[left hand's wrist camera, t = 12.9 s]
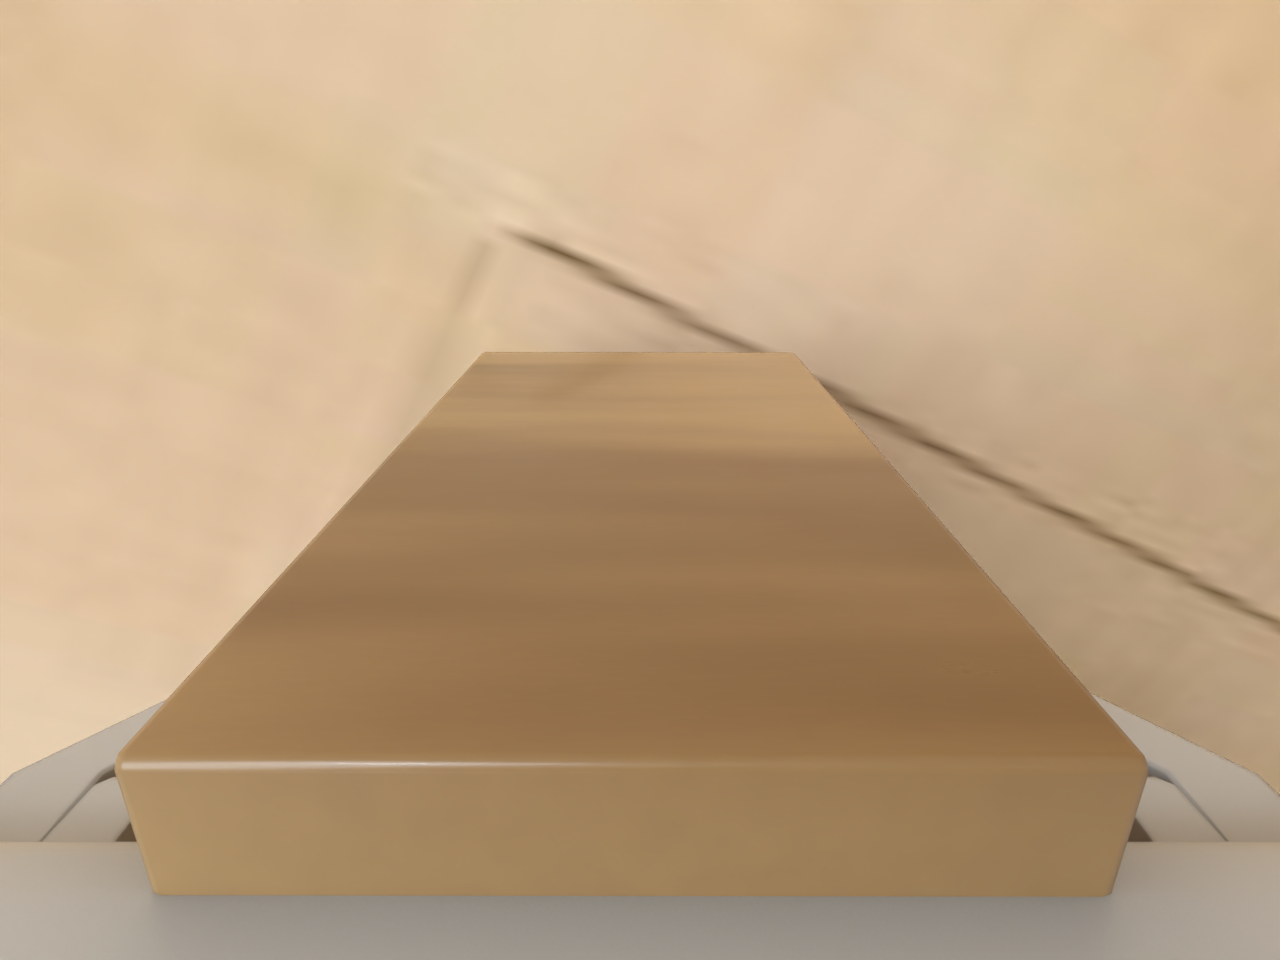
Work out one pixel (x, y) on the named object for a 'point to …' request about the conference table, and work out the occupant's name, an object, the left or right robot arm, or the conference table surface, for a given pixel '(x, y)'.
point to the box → (633, 670)
